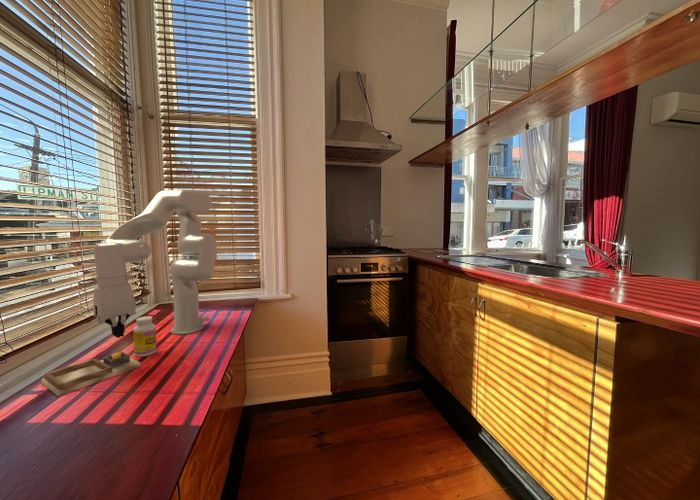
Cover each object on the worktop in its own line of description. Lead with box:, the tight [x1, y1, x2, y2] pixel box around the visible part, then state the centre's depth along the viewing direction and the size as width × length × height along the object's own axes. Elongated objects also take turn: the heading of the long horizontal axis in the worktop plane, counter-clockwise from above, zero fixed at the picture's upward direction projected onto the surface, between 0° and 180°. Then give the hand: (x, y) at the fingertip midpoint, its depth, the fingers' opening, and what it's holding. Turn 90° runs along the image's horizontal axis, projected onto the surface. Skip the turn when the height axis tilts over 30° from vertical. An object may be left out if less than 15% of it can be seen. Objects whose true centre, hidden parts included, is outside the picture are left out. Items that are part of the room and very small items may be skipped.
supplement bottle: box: [132, 316, 158, 358], centre depth 107 cm, size 7×7×13 cm
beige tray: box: [41, 351, 142, 397], centre depth 92 cm, size 20×13×3 cm, turn 150°
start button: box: [111, 352, 121, 360], centre depth 97 cm, size 2×2×3 cm
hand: (118, 336), depth 98 cm, fingers closed
